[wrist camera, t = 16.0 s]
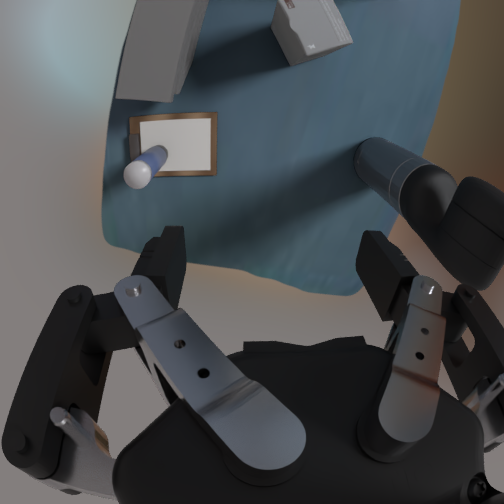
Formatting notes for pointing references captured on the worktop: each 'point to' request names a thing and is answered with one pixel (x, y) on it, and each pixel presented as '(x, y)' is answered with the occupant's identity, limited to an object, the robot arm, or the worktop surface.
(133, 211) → the worktop surface
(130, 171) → the marker
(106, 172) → the worktop surface
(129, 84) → the grey curved block
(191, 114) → the clipboard
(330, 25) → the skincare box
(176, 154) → the paper
